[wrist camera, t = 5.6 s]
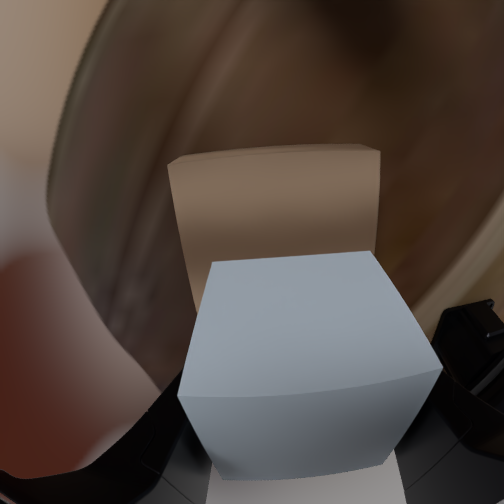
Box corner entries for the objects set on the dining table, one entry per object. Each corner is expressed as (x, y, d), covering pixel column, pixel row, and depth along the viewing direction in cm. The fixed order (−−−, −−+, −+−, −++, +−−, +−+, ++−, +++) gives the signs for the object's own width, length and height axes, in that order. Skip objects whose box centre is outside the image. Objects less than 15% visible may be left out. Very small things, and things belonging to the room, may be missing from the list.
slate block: (353, 358, 11) (382, 464, 7) (232, 368, 11) (223, 480, 7) (369, 250, 9) (443, 367, 4) (212, 261, 9) (177, 395, 5)
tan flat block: (352, 292, 19) (364, 319, 17) (208, 302, 20) (201, 331, 17) (359, 144, 15) (380, 151, 12) (182, 155, 15) (167, 164, 13)
